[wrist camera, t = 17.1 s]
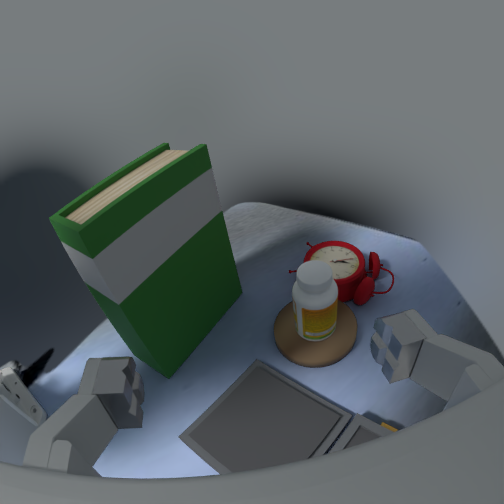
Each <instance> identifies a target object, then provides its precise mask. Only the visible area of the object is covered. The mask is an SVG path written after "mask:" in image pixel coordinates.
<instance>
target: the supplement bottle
mask: <svg viewBox="0 0 504 504" xmlns="http://www.w3.org/2000/svg"><path fill="white" fill-rule="evenodd" d="M292 299H293V310H294V321H295V328H296V331H297V333H298V334H299V335H300V336H301V337H302V338H304V339H306V340H309V341H322V340H324V339H326V338H328V337H330V336H331V335H332V334H333V332H334V330H335V328H336V319H337V302H338V287H337V284H336V282H335V281H334V279H333V274H332V269H331V267H330V266H329V265H328V264H327V263H325V262H323V261H318V260H312V261H307V262H305V263H303V264H301V265H300V266H299V268H298V269H297V280H296V281H295V283H294V285H293V288H292Z"/></svg>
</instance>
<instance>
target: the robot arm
mask: <svg viewBox="0 0 504 504" xmlns="http://www.w3.org/2000/svg"><path fill="white" fill-rule="evenodd" d="M374 329H375V330H376V333H375V334H374V335H373V336H372V337H371V343H370V347H371V353H372V356H373V358H374V360H375V361H376V362H377V363H379V364H381V365H383V366H382V372H383V374H384V375H385V377H386V379H387V380H388V382H389V383H393V382H397V381H400V380H403V379H406V378H409V377H410V379H411V380H413V381H415V382H416V383H418V384H419V385H421V386H423V387H424V388H426V389H427V390H429V391H431V392H432V393H434V394H436V395H437V396H439V397H441V398H442V399H444V400H445V401H447V404H446V406H445V407H444V409H443V411H442V412H440V413H438V414H436V415H434V416H432V417H429V418H427V419H425V420H423V421H420V422H418V423H416V424H413V425H411V426H408V427H406V428H404V429H401V430H398V431H396V432H393V433H391V434H388V435H385V436H383V437H380V438H377V439H374V440H371V441H368V442H365V443H362V444H359V445H356V446H353V447H350V448H346V449H343V450H340V451H336V452H333V453H329V454H325V455H322V456H318V457H314V458H310V459H306V460H301V461H297V462H293V463H288V464H283V465H278V466H273V467H268V468H262V469H256V470H250V471H243V472H236V473H228V474H220V475H210V476H198V477H183V478H155V479H137V478H109V477H102V476H101V475H100V474H99V473H98V472H97V471H96V470H95V469H94V468H93V467H92V466H93V465H94V464H95V462H96V461H97V459H98V458H99V457H100V455H101V454H102V452H103V451H104V449H105V448H106V447H107V445H108V444H109V442H110V441H111V440H112V438H113V437H114V435H115V434H116V433H117V431H118V429H125V428H142V420H143V410H142V408H141V406H140V405H141V404H142V403H143V402H144V385H143V381H142V378H141V376H140V374H139V373H137V372H136V371H135V369H136V364H135V361H134V359H133V358H132V357H105V358H89V359H88V360H87V362H86V366H85V369H84V372H83V376H82V379H81V383H80V386H79V390H78V394H75V395H72V396H71V397H70V398H69V399H68V400H67V401H66V402H65V403H64V404H63V405H62V406H61V407H60V408H59V409H58V410H57V411H55V412H54V413H53V414H52V415H51V416H50V417H49V418H48V419H47V420H46V417H47V414H46V412H45V410H44V409H43V408H42V407H41V405H40V404H39V403H38V402H37V400H36V399H35V398H34V397H33V395H32V394H31V393H30V391H29V390H28V389H27V387H26V386H25V385H24V383H23V382H22V380H21V379H20V378H19V376H18V375H17V373H16V372H15V371H14V370H13V369H12V368H10V367H8V368H4V369H2V370H0V504H504V367H503V365H502V364H501V363H500V362H499V361H498V360H497V359H496V358H495V357H494V356H493V354H491V353H488V352H486V351H483V350H481V349H478V348H476V347H473V346H471V345H468V344H466V343H463V342H461V341H458V340H456V339H453V338H451V337H448V336H446V335H443V334H439V335H438V334H437V333H436V332H435V331H434V330H433V328H432V327H431V326H430V325H429V324H428V323H427V322H426V321H425V320H424V319H423V317H422V316H421V315H420V314H419V313H418V312H417V311H416V310H414V309H411V310H407V311H403V312H401V313H396V314H393V315H389V316H385V317H381V318H377V320H376V321H375V324H374Z"/></svg>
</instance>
